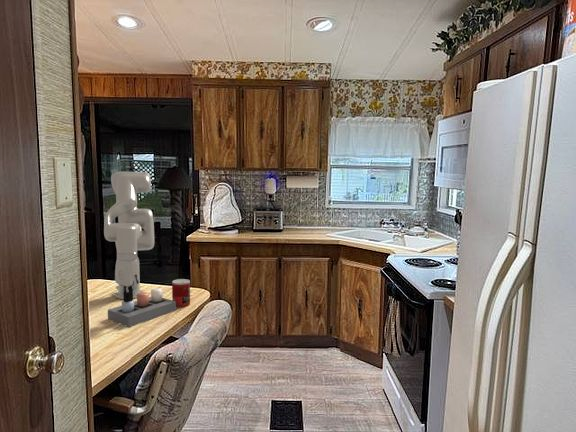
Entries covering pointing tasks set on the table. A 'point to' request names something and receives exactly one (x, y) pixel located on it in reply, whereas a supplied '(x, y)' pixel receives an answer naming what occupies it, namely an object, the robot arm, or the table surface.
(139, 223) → the robot arm
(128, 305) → the pale blue rounded dome
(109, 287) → the table surface
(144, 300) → the pink rounded dome
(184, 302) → the canned food
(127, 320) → the grey slotted tray
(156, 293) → the white dome button
